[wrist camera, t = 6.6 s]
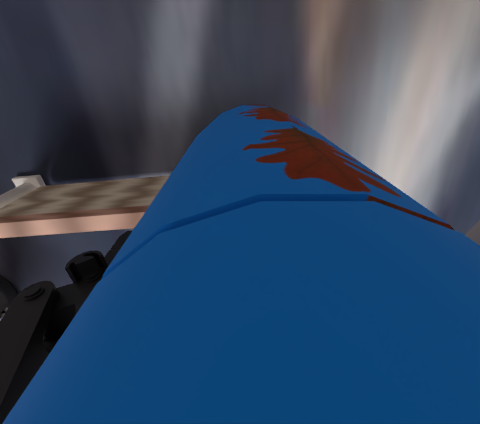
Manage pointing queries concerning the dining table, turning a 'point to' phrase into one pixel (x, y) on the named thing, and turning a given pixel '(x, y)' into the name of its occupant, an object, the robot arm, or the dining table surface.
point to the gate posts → (21, 188)
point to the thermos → (272, 298)
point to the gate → (80, 207)
